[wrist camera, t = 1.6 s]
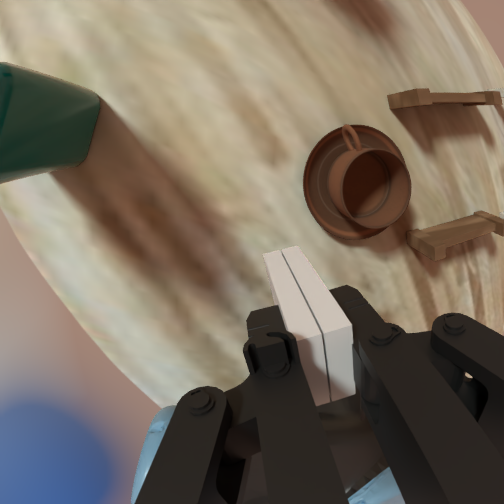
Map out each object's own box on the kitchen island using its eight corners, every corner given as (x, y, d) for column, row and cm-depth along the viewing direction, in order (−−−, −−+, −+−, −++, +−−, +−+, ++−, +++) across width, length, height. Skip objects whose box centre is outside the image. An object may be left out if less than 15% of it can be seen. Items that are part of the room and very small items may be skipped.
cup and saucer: (274, 176, 31) (286, 184, 25) (356, 103, 29) (383, 96, 23) (345, 255, 34) (367, 277, 28) (415, 186, 32) (447, 196, 26)
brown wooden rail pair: (481, 221, 34) (509, 233, 29) (407, 244, 34) (434, 261, 29) (468, 93, 28) (499, 91, 23) (387, 95, 28) (416, 88, 23)
